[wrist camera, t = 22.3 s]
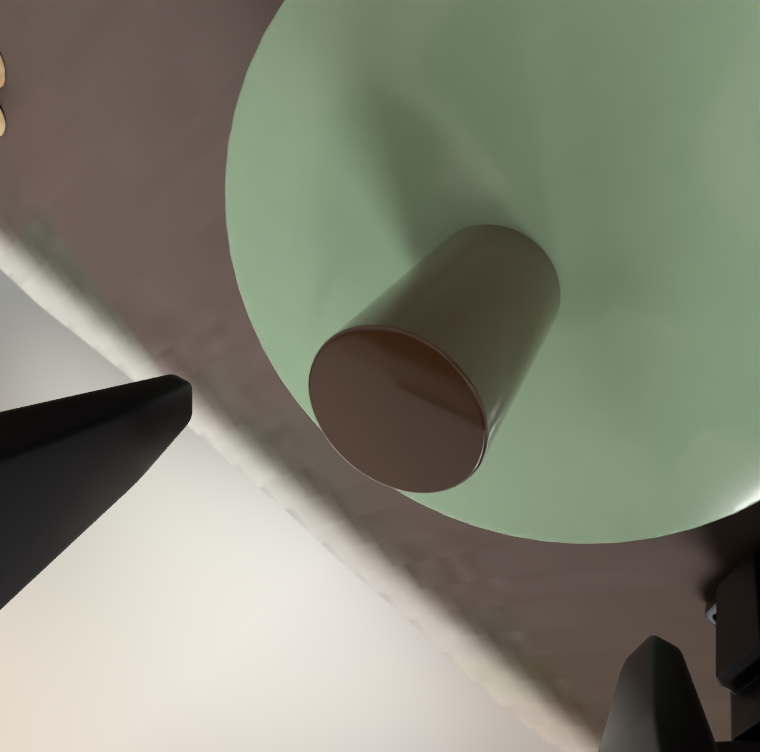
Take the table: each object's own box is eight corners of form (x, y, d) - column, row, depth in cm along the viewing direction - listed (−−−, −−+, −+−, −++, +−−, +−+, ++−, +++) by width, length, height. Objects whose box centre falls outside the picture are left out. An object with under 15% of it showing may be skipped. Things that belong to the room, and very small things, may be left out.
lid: (1221, -30, 6) (2242, -106, 2) (665, 589, 13) (643, 840, 9) (275, -200, 9) (-74, -364, 5) (246, 379, 16) (94, 500, 12)
